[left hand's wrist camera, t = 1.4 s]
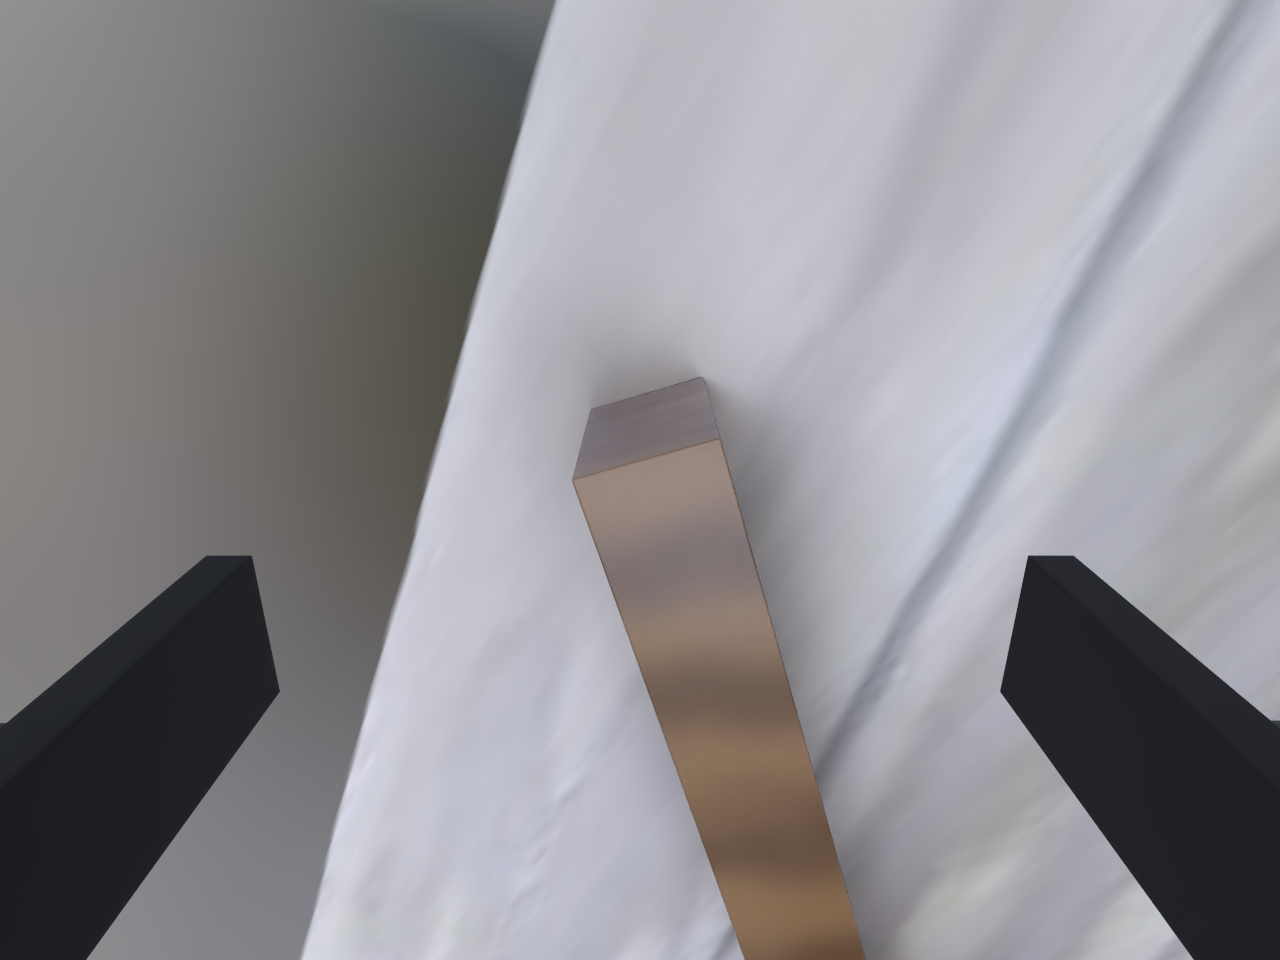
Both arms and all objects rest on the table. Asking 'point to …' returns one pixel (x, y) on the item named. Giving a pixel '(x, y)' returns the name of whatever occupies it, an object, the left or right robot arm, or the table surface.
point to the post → (714, 668)
